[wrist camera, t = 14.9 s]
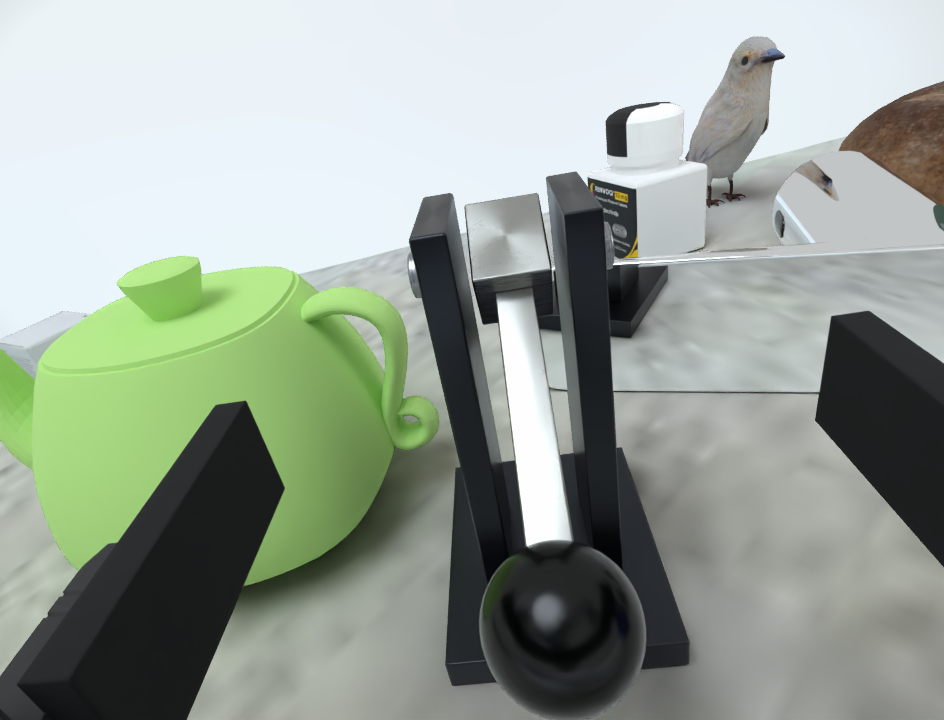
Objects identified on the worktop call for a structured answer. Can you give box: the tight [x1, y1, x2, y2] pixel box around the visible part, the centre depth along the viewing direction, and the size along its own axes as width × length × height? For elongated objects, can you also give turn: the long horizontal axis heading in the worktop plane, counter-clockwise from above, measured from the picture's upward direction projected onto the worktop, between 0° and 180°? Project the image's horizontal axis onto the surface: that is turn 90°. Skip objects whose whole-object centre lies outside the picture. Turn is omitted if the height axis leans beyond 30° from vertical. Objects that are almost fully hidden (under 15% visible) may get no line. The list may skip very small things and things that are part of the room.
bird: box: [685, 37, 785, 207], centre depth 55 cm, size 5×14×15 cm, turn 16°
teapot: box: [0, 256, 439, 586], centre depth 26 cm, size 22×15×13 cm
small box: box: [0, 311, 91, 379], centre depth 46 cm, size 6×6×5 cm
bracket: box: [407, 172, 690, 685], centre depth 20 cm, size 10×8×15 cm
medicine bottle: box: [588, 102, 707, 259], centre depth 48 cm, size 7×7×12 cm
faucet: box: [498, 151, 944, 392], centre depth 37 cm, size 25×8×19 cm
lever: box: [465, 193, 646, 720], centre depth 15 cm, size 13×4×4 cm
